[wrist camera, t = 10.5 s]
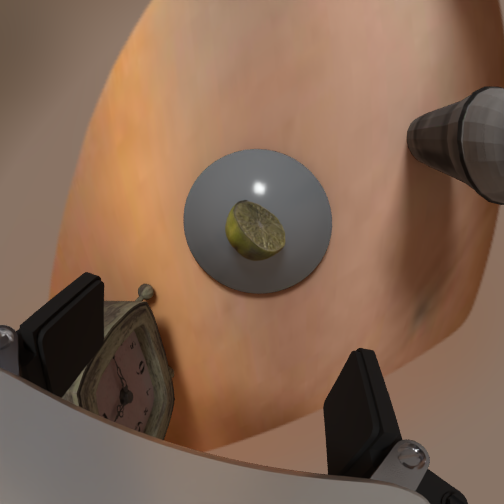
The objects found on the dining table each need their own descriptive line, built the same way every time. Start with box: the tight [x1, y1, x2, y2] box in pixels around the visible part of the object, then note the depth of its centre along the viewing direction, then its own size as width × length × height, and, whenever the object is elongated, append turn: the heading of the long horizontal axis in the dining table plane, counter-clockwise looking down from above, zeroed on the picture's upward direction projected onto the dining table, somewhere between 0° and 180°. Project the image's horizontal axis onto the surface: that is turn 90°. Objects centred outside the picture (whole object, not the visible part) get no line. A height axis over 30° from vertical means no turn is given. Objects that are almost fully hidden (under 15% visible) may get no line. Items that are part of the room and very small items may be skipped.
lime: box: [225, 200, 285, 261], centre depth 25 cm, size 4×5×5 cm
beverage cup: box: [407, 87, 504, 205], centre depth 15 cm, size 7×7×20 cm
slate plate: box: [184, 149, 332, 294], centre depth 28 cm, size 13×13×1 cm
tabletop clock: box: [62, 284, 175, 440], centre depth 22 cm, size 14×9×25 cm, turn 5°
